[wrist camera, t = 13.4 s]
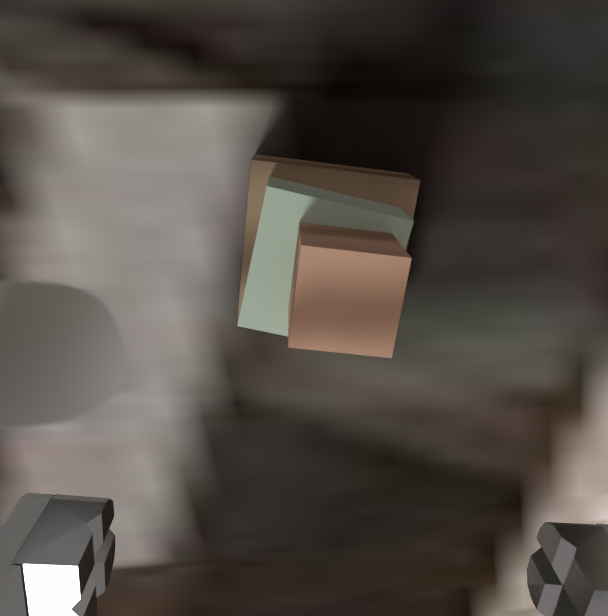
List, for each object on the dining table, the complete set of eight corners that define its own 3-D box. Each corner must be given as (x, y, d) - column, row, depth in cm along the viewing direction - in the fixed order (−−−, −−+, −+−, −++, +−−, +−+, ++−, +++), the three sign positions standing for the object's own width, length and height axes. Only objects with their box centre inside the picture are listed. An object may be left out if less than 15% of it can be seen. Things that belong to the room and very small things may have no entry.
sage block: (269, 176, 32) (266, 185, 28) (399, 207, 33) (414, 220, 29) (242, 301, 34) (237, 325, 31) (363, 327, 35) (372, 353, 31)
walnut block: (255, 153, 35) (251, 159, 31) (406, 172, 36) (420, 180, 32) (242, 298, 38) (237, 319, 35) (380, 312, 39) (390, 335, 35)
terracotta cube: (299, 222, 29) (301, 245, 24) (391, 233, 29) (411, 258, 24) (288, 309, 30) (288, 347, 26) (375, 319, 31) (391, 357, 26)
